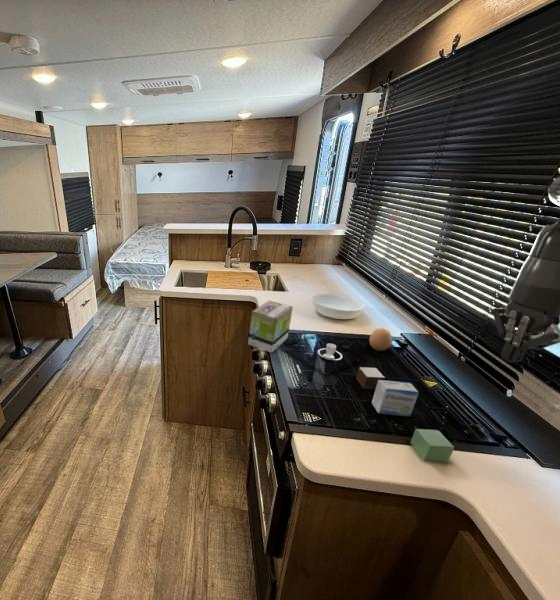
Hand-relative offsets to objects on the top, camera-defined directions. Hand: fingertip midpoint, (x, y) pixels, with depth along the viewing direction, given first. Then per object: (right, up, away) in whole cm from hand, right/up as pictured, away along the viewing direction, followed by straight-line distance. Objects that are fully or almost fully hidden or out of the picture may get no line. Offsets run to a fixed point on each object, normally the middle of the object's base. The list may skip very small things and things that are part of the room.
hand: (509, 360), depth 64 cm
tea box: (-30, -4, +58) cm, 65 cm away
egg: (+9, -6, +51) cm, 52 cm away
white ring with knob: (-14, -8, +48) cm, 51 cm away
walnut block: (-8, -14, +32) cm, 36 cm away
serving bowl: (+9, +5, +79) cm, 80 cm away
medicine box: (-9, -19, +22) cm, 30 cm away
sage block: (-9, -24, +9) cm, 27 cm away
